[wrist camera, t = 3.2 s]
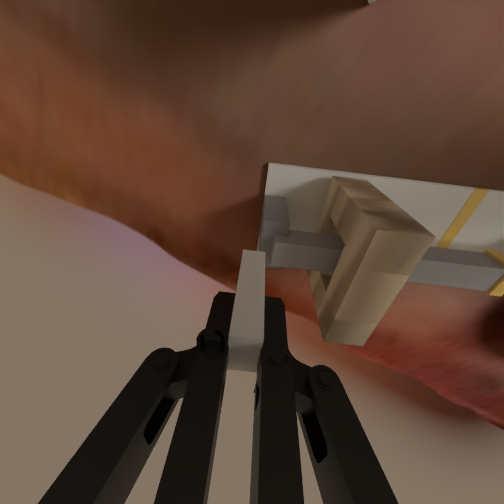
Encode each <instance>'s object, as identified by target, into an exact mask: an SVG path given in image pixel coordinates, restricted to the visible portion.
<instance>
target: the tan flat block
mask: <svg viewBox="0 0 504 504" xmlns="http://www.w3.org/2000/svg"><path fill="white" fill-rule="evenodd" d="M315 233H322V234H330V235H338V236H341V238H342V240H343V242H344V244H345V246H344V249H343V251H342V254H341V256H340V259H339V261H338V264H337V266H336V268H335V271H334V273H329V272H321V271H312V270H307V272H308V276H309V281H310V285H311V290H312V294H313V299H314V303H315V307H316V312H317V316H318V321H319V325H320V330H321V334H322V338H323V341H324V342H332V343H340V344H349V345H357V346H363V345H364V344H365V342H366V341H367V339H368V338H369V336H370V335H371V333H372V332H373V330H374V329H375V327H376V326H377V324H378V323H379V321H380V320H381V318H382V317H383V315H384V314H385V312H386V311H387V309H388V308H389V306H390V305H391V303H392V302H393V300H394V299H395V297H396V296H397V294H398V293H399V291H400V290H401V288H402V287H403V285H404V284H405V282H406V281H407V279H408V278H409V276H410V275H411V273H412V272H413V270H414V269H415V268H416V266H417V265H418V263H419V262H420V260H421V259H422V257H423V256H424V254H425V253H426V251H427V250H428V248H429V247H430V245H431V244H432V242H433V241H434V239H435V238H436V236H434V235H433V234H432V233H431V232H430V231H428V230H427V229H426V228H425V227H423V226H422V225H421V224H420V223H419V222H417V221H416V220H415V219H414V218H413V217H411V216H410V215H409V214H408V213H406V212H405V211H404V210H403V209H402V208H400V207H399V206H398V205H397V204H395V203H394V202H393V201H392V200H391V199H389V198H388V197H387V196H386V195H385V194H383V193H382V192H381V191H380V190H378V189H377V188H376V187H375V186H374V185H372V184H371V183H370V182H369V181H367V180H363V179H355V178H347V177H339V176H332V178H331V181H330V185H329V188H328V191H327V195H326V198H325V201H324V205H323V208H322V211H321V214H320V218H319V221H318V224H317V228H316V231H315Z"/></svg>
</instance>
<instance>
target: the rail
mask: <svg viewBox="0 0 504 504" xmlns="http://www.w3.org/2000/svg"><path fill="white" fill-rule="evenodd" d="M332 176H339V177H347V178H355V179H363V180H367V181H369V182H370V183H371V184H372V185H374V186H375V187H376V188H377V189H378V190H380V191H381V192H382V193H383V194H385V195H386V196H387V197H388V198H389V199H391V200H392V201H393V202H394V203H395V204H397V205H398V206H399V207H400V208H402V209H403V210H404V211H405V212H406V213H408V214H409V215H410V216H411V217H413V218H414V219H415V220H416V221H417V222H419V223H420V224H421V225H422V226H423V227H425V228H426V229H427V230H428V231H430V232H431V233H432V234H433V235H434V236H436V238H435V239H434V241H433V242H432V244H431V245H430V247H429V248H428V250H427V251H426V253H425V254H424V256H423V257H422V259H421V260H420V262H419V263H418V265H417V266H416V268H415V269H414V270H413V272H412V273H411V275H410V276H409V278H408V279H407V281H406V282H414V283H423V284H431V285H440V286H448V287H457V288H465V289H473V290H482V291H485V292H486V293H487V294H489V295H494V296H502V295H503V294H504V191H501V190H493V189H485V188H477V187H468V186H460V185H452V184H444V183H435V182H427V181H419V180H411V179H402V178H394V177H386V176H378V175H369V174H361V173H353V172H345V171H336V170H328V169H320V168H312V167H303V166H295V165H287V164H279V163H270V162H269V166H268V173H267V181H266V188H265V195H264V202H263V210H262V217H261V224H260V231H259V239H258V246H257V251H261V252H265V267H267V268H276V269H280V267H287V268H295V269H304V270H312V271H321V272H329V273H334V271H335V268H336V266H337V264H338V261H339V259H340V256H341V254H342V251H343V249H344V246H345V244H344V242H343V240H342V238H341V236H338V235H330V234H322V233H315V231H316V228H317V224H318V221H319V218H320V214H321V211H322V208H323V205H324V201H325V198H326V195H327V191H328V188H329V185H330V181H331V178H332Z"/></svg>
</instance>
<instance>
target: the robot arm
mask: <svg viewBox="0 0 504 504" xmlns="http://www.w3.org/2000/svg"><path fill="white" fill-rule="evenodd" d="M286 330H287V329H286V317H285V305H284V303H283V302H282V300H281V298H276V297H267V296H265V252H261V251H252V250H244V249H243V254H242V260H241V266H240V272H239V278H238V283H237V289H236V293H229V292H220V291H219V292H218V294H217V295H216V296H215V297H214V299H213V303H212V307H211V310H210V314H209V317H208V321H207V325H206V328H205V329H204V330H202V331H201V332H200V333H199V334H198V336H197V338H196V340H197V345H196V346H195V347H193V348H192V349H188V350H184V351H180V352H175V351H174V350H172V349H170V348H159V349H157V350H155V351H153V352H152V353H151V354H150V355H149V356H148V357H147V358H146V359H145V360H144V362H143V363H142V364H141V366H140V367H139V368H138V370H137V371H136V372H135V374H134V375H133V377H132V378H131V379H130V381H129V382H128V383H127V385H126V386H125V387H124V389H123V390H122V391H121V393H120V394H119V395H118V397H117V398H116V399H115V401H114V402H113V403H112V405H111V406H110V407H109V409H108V410H107V411H106V413H105V414H104V416H103V417H102V418H101V419H100V421H99V422H98V424H97V425H96V426H95V428H94V429H93V430H92V432H91V433H90V434H89V436H88V437H87V438H86V440H85V441H84V442H83V444H82V445H81V446H80V448H79V449H78V450H77V452H76V453H75V455H74V456H73V457H72V458H71V460H70V461H69V462H68V464H67V465H66V466H65V468H64V469H63V471H62V472H61V473H60V475H59V476H58V477H57V479H56V480H55V481H54V483H53V484H52V485H51V487H50V488H49V489H48V491H47V492H46V493H45V495H44V496H43V497H42V499H41V500H40V501H39V503H38V504H124V503H125V501H126V499H127V497H128V496H129V494H130V492H131V490H132V488H133V486H134V484H135V482H136V480H137V478H138V477H139V475H140V473H141V471H142V469H143V467H144V465H145V463H146V461H147V459H148V458H149V456H150V453H151V452H152V450H153V448H154V446H155V444H156V442H157V440H158V439H159V437H160V435H161V433H162V431H163V429H164V427H165V425H166V423H167V422H168V420H169V418H170V416H171V414H172V412H173V410H174V408H175V406H176V404H177V403H178V401H179V399H180V398H183V397H184V398H183V402H182V405H181V409H180V413H179V416H178V420H177V423H176V427H175V430H174V434H173V437H172V441H171V444H170V448H169V452H168V455H167V459H166V462H165V466H164V469H163V473H162V477H161V480H160V483H159V487H158V490H157V494H156V498H155V501H154V504H207V500H208V493H209V487H210V480H211V473H212V466H213V460H214V453H215V447H216V440H217V433H218V427H219V420H220V413H221V407H222V400H223V393H224V387H225V378H226V371H227V369H232V370H240V371H249V372H257V380H256V385H255V389H254V393H255V404H254V424H253V446H252V465H251V487H250V504H304V496H303V485H302V472H301V461H300V449H299V439H298V427H297V415H296V411H297V414H298V417H299V421H300V424H301V428H302V431H303V435H304V438H305V442H306V445H307V449H308V452H309V455H310V459H311V462H312V466H313V469H314V472H315V476H316V479H317V483H318V486H319V490H320V493H321V497H322V500H323V504H398V502H397V500H396V497H395V495H394V493H393V491H392V489H391V487H390V485H389V483H388V480H387V479H386V476H385V474H384V472H383V470H382V468H381V466H380V464H379V461H378V459H377V457H376V455H375V453H374V451H373V449H372V447H371V444H370V442H369V440H368V438H367V436H366V434H365V432H364V430H363V428H362V425H361V423H360V421H359V419H358V417H357V415H356V413H355V411H354V409H353V406H352V404H351V402H350V400H349V398H348V396H347V394H346V392H345V389H344V387H343V385H342V383H341V381H340V379H339V377H338V376H337V374H336V373H335V372H334V371H333V370H332V369H331V368H329V367H327V366H325V365H317V366H314V367H313V368H312V367H310V366H308V365H305V364H303V363H301V362H299V361H298V360H296V359H295V358H294V357H293V356H292V355H291V353H290V351H289V349H288V342H287V331H286Z"/></svg>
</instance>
